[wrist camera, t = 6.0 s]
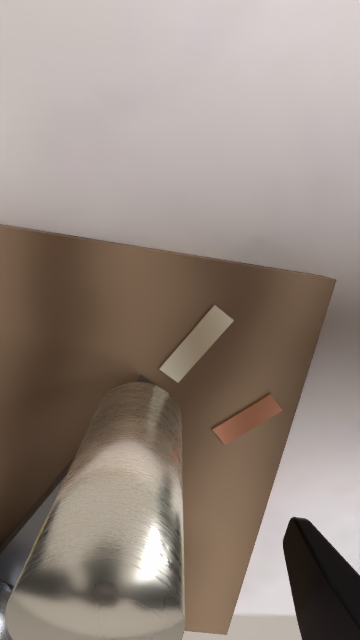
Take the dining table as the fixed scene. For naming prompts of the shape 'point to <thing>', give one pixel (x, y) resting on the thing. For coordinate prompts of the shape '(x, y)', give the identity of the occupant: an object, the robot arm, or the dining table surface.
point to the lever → (105, 532)
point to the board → (156, 380)
